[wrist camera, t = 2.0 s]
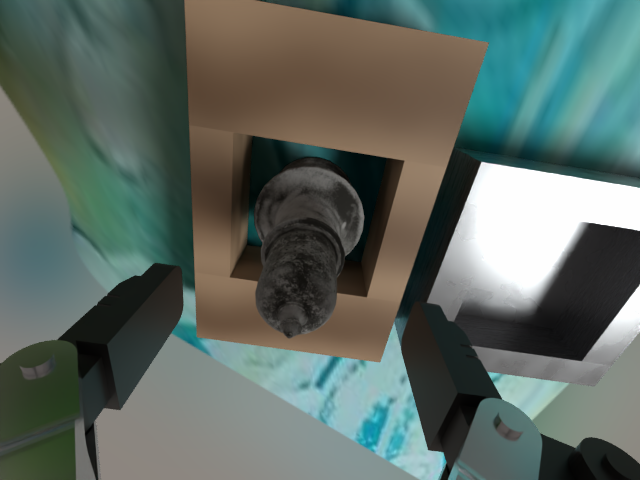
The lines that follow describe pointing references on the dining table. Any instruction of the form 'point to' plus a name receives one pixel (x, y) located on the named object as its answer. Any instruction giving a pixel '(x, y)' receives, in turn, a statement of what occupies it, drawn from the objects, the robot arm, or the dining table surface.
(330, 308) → the chess piece
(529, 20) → the dining table surface
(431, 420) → the robot arm
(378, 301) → the wooden rectangular frame
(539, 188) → the seat block
